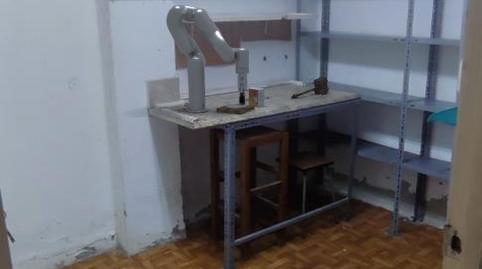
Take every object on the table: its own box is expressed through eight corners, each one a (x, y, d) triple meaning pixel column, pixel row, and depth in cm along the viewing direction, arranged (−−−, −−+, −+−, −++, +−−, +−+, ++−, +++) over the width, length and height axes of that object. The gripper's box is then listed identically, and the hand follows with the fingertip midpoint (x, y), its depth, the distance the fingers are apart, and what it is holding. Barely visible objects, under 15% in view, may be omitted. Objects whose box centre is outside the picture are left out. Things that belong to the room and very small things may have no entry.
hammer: (329, 91, 336) (328, 77, 332) (296, 107, 317) (294, 92, 314) (321, 90, 341) (320, 76, 337) (289, 105, 322) (287, 91, 319)
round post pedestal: (232, 109, 275) (232, 96, 273) (221, 106, 285) (221, 93, 283) (250, 107, 282) (250, 94, 280) (238, 103, 291) (238, 91, 290)
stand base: (216, 111, 281) (216, 107, 280) (230, 106, 294) (230, 103, 294) (241, 114, 273) (241, 110, 273) (254, 109, 287) (254, 105, 286)
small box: (248, 105, 298) (248, 88, 296) (254, 104, 302) (254, 87, 299) (258, 107, 293) (258, 89, 290) (264, 105, 296) (264, 88, 294)
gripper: (248, 72, 269) (248, 105, 274) (249, 68, 285) (249, 100, 290) (234, 72, 270) (234, 105, 274) (236, 68, 285) (236, 99, 290)
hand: (242, 102), depth 282 cm, fingers open, 3 cm apart
